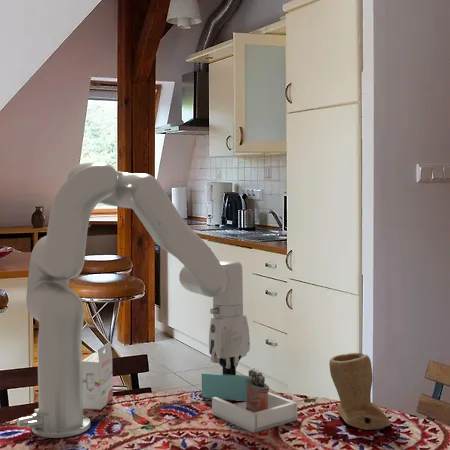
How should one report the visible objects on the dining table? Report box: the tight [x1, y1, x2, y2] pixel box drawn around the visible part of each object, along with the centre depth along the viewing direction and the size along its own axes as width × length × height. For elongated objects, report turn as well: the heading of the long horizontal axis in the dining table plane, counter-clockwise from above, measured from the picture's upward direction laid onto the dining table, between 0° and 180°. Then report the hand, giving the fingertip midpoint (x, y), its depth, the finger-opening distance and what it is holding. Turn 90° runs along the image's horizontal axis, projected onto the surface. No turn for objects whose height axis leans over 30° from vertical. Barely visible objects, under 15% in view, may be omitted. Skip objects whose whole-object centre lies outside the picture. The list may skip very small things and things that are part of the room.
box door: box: [201, 372, 252, 402], centre depth 172 cm, size 13×1×6 cm, turn 74°
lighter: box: [246, 369, 270, 413], centre depth 158 cm, size 8×3×10 cm, turn 26°
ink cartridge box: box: [82, 341, 114, 410], centre depth 169 cm, size 9×5×15 cm, turn 168°
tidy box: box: [211, 391, 298, 434], centre depth 159 cm, size 13×15×4 cm
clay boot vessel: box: [328, 352, 391, 431], centre depth 157 cm, size 15×12×15 cm
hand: (229, 382), depth 174 cm, fingers closed
